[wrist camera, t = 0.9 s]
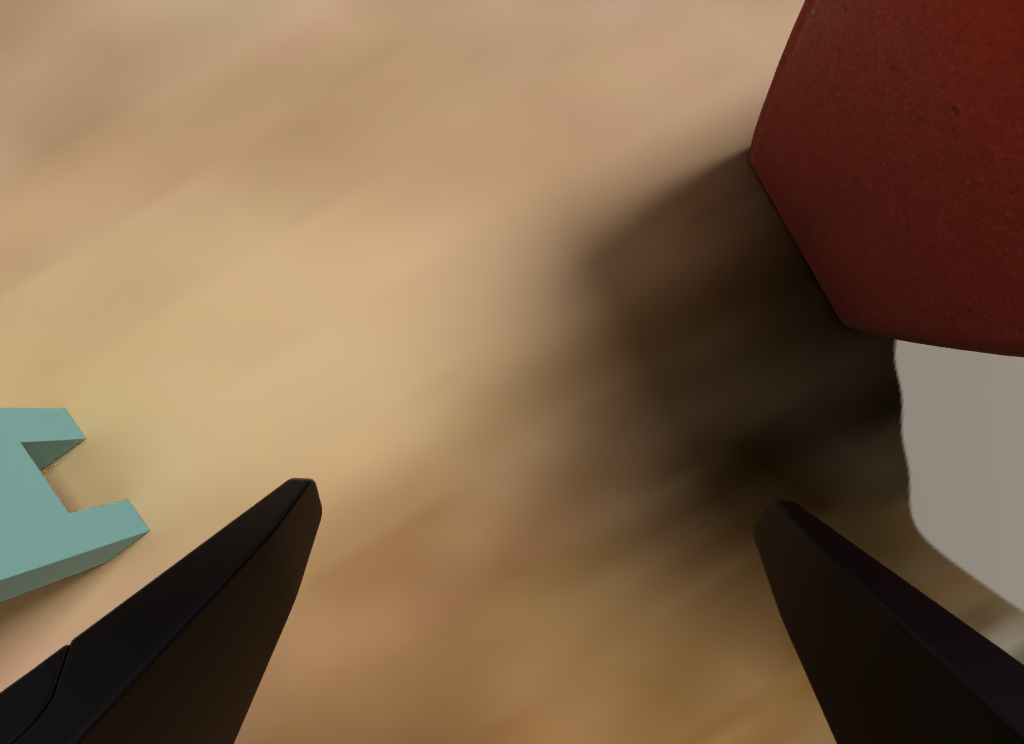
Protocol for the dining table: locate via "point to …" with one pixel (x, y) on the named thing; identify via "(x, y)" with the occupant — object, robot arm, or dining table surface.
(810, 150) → the plant pot
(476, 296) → the dining table surface
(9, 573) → the teal notched plate
